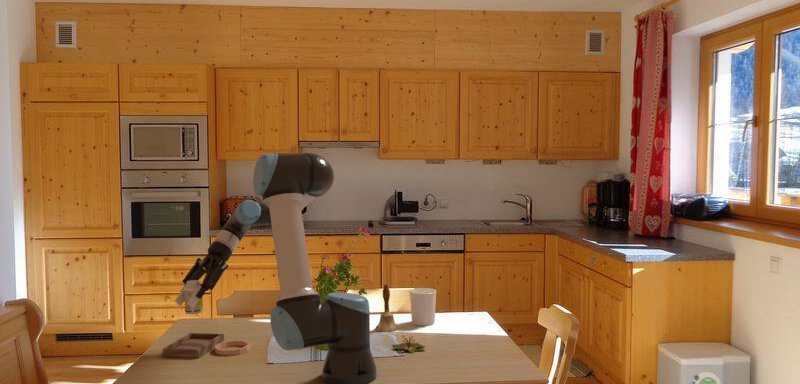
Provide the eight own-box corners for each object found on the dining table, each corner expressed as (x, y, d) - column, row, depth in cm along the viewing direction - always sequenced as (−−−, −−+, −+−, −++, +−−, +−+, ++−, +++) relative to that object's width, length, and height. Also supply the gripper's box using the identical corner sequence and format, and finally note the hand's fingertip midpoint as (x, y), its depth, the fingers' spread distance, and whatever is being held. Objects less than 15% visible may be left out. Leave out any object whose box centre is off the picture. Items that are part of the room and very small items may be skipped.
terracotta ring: (242, 355, 193) (241, 350, 193) (209, 354, 195) (209, 349, 195) (255, 345, 204) (255, 340, 204) (224, 344, 206) (223, 339, 206)
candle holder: (405, 321, 232) (405, 289, 231) (428, 318, 236) (428, 286, 235) (417, 327, 223) (416, 294, 222) (441, 324, 227) (441, 291, 226)
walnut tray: (199, 358, 192) (198, 350, 192) (162, 356, 193) (162, 348, 193) (224, 341, 209) (223, 333, 209) (190, 340, 211) (190, 332, 211)
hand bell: (397, 332, 218) (397, 286, 217) (374, 331, 219) (373, 286, 218) (399, 325, 226) (398, 282, 225) (376, 325, 227) (376, 282, 226)
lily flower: (431, 353, 194) (431, 339, 194) (394, 357, 192) (394, 342, 191) (421, 343, 206) (421, 329, 206) (386, 346, 203) (386, 332, 203)
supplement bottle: (204, 310, 204) (203, 279, 203) (201, 314, 198) (200, 282, 198) (187, 310, 203) (186, 279, 203) (182, 315, 198) (181, 283, 197)
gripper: (248, 255, 208) (210, 314, 195) (211, 251, 218) (172, 307, 205) (235, 241, 203) (195, 301, 190) (198, 238, 213) (158, 294, 200)
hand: (184, 304), depth 198 cm, fingers closed on supplement bottle, 5 cm apart
